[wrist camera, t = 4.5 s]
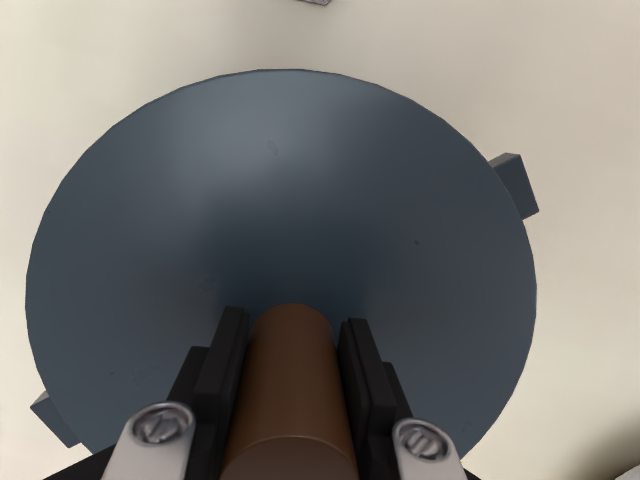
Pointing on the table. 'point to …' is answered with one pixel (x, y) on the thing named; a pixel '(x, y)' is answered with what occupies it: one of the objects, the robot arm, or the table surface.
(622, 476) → the cereal bowl
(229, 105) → the pot lid
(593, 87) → the table surface
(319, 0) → the flask
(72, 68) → the table surface
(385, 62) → the table surface
